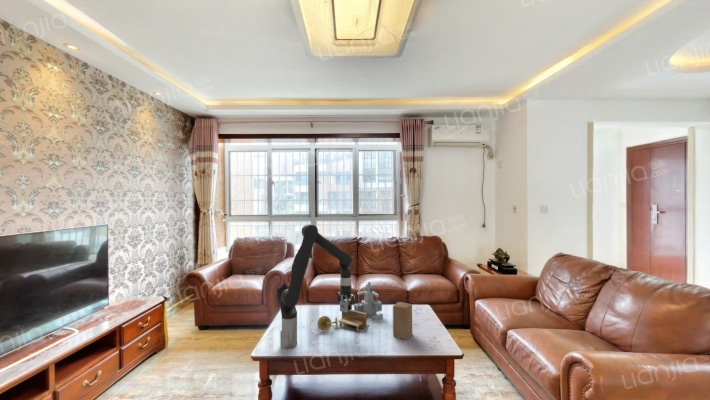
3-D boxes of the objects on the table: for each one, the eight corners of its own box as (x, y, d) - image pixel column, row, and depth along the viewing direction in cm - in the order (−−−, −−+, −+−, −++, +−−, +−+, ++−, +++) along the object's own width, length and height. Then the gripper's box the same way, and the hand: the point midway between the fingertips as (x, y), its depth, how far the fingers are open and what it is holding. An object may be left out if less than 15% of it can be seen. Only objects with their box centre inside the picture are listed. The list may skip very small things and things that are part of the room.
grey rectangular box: (345, 313, 186) (345, 303, 186) (339, 311, 189) (339, 302, 189) (351, 309, 193) (351, 300, 193) (345, 307, 196) (345, 299, 196)
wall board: (360, 332, 191) (360, 317, 192) (336, 325, 202) (336, 311, 202) (368, 326, 201) (368, 311, 201) (345, 320, 212) (345, 306, 212)
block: (407, 340, 179) (407, 308, 179) (392, 336, 184) (392, 305, 185) (412, 334, 188) (412, 303, 188) (398, 330, 193) (398, 301, 193)
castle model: (352, 314, 222) (352, 282, 222) (372, 311, 229) (371, 279, 230) (362, 323, 206) (362, 288, 206) (383, 318, 213) (382, 285, 214)
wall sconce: (335, 315, 208) (339, 313, 185) (336, 329, 204) (341, 329, 182) (316, 317, 205) (318, 316, 183) (316, 331, 201) (319, 332, 179)
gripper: (333, 283, 192) (334, 308, 192) (351, 286, 185) (351, 313, 184) (340, 281, 199) (340, 305, 198) (357, 284, 191) (358, 309, 191)
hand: (346, 309), depth 191 cm, fingers closed on grey rectangular box, 5 cm apart
